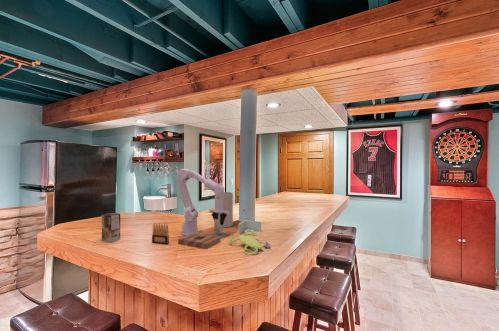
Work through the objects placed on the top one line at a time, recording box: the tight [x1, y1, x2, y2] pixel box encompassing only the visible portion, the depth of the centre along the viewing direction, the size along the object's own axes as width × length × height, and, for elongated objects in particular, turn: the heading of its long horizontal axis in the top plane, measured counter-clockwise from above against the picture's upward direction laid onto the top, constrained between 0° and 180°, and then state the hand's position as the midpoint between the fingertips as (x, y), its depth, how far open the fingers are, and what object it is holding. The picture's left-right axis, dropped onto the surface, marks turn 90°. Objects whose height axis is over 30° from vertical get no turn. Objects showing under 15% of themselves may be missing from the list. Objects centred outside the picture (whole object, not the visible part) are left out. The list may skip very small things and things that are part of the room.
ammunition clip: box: [151, 222, 170, 246], centre depth 143 cm, size 11×2×12 cm, turn 74°
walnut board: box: [177, 232, 221, 250], centre depth 144 cm, size 20×14×3 cm
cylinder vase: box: [218, 191, 234, 228], centre depth 186 cm, size 12×12×25 cm
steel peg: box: [213, 218, 224, 233], centre depth 159 cm, size 4×4×8 cm
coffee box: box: [101, 212, 121, 243], centre depth 150 cm, size 9×6×16 cm
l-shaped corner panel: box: [237, 219, 262, 235], centre depth 166 cm, size 12×12×8 cm
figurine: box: [227, 231, 271, 256], centre depth 139 cm, size 18×27×6 cm
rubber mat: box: [210, 231, 230, 240], centre depth 160 cm, size 10×10×1 cm
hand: (219, 224), depth 160 cm, fingers closed on steel peg, 4 cm apart
